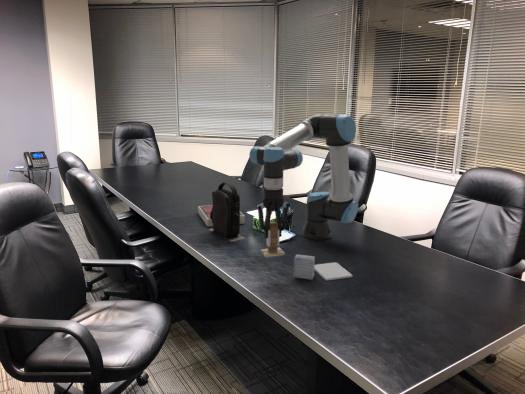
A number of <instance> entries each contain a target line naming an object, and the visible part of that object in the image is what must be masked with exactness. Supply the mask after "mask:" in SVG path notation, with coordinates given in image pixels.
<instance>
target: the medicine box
mask: <svg viewBox="0 0 525 394" xmlns="http://www.w3.org/2000/svg"><path fill="white" fill-rule="evenodd" d="M315 259H316V257H315V256H314V255H313V256H312V255H305V254H295V256H294V257H293V278H295V279H296V278H297V279H305V280H311V281H312V280H314V276H315V270H314V266H315V265H316V264H315V261H316V260H315Z"/></svg>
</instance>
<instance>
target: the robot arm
mask: <svg viewBox="0 0 525 394" xmlns="http://www.w3.org/2000/svg"><path fill="white" fill-rule="evenodd" d="M356 133H357V125H356V121H355V120H354V118H353V117H352V116H351V115H350V114H344V113H343V114H342V113H317V114H314V115H311V116H308V117H306V118H304V119H301V121H300V120H299V122H298V123H297V124H296V126H295V127H293V128H292V129H289V130H288V131H286V132H284V133H283V134H281V135H280V136H278V137H277V138H275V139H273V140H271V141H269V142H268V143H266V144H264V145H262V146H261V145H256V146H253V147H252V148H251V149H250V151H249V154H248V155H249V160H250V162H251V163H252V164H254V165H258V166H263V187H264V188H263V200H262V203H260V204H256V205H255V207H256V209H257V213H258V223H259V228H260V229H261V230H262V231H263V234H264V235H263V236H264V238H265V239H266V241H265V242H266V244H265V245H267V248H268V247H270V230H269V224H270V222H271V218H272V214H273V212H274V214H275V220H276V222H277V223H278V247H280V238H281V237H282V230H283V229H284V228H287V223H288V221H287V220H288V213H289V208H290V205H291V204H290V203H289V202H287V201H285V200H284V188H283V187H284V171H288V170H293V169H295V168H297V167H300V166H301V165H302V163H303V159H304V158H303V153H302V152H301V151H300V150H299V149H297V148H295V147H297V146H298V145H300V144H302V143H303V142H305V141H306V142H308V141H310V140H312V139H322V140H323V139H324V140H325V145H326V146H327V147H328V148H329V160H330V161H329V162H330V176H331V177H330V179H331V180H330V182H331V193H330V192H328V191H315V192H310V193H309V194H307V197H306V213H305V215H306V218H305V223H304V225H303V228H302V231H301V232H302V234H301V235H302V237H304V238H306V239H309V240H314V241H324V240H328V239H330V238H331V237H332V231H331V227H330V223H329V220H331V221H335V222H338V223H339V222H340V223H342V224H351V223H352V222H353V221H354V220H355V218H356V216H357V213H358V211H359V203H358V202H357V200H354V195H353V193H351V190H350V189H351V188H350V167H349V165H350V163H349V162H350V161H349V160H350V159H349V146H350V145H351V144H352V142H353V140H354V139H355V137H356ZM264 208H265V209H266V210H265V216H264ZM281 208H282V215H281ZM264 217H265V218H264Z"/></svg>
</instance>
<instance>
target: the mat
mask: <svg viewBox="0 0 525 394" xmlns="http://www.w3.org/2000/svg"><path fill="white" fill-rule="evenodd" d="M314 272H316V273H317V274H318V275H319V276H320V277H321V278H322V279H324V280H325V282H326V281H334V280H340V279H347V278H348V279H349V278H353V274H351V273H350V272H349V270H346V269H345V268H344V267H343V266H341V265H340V263H338V262H326V263H317V264H315V266H314Z"/></svg>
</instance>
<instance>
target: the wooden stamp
mask: <svg viewBox="0 0 525 394" xmlns="http://www.w3.org/2000/svg"><path fill="white" fill-rule="evenodd" d="M269 230H270V247H268V246H267V248H263V249H260V253H261V254H262V255H263V256H264V257H265V258H272V257H281V256H285V255H286V254H285V253H286V252H285V251H284V250H283V249H282V248H281V247H280V246H278V223H277V222H276V221H275V220H273V221H272V220H270V224H269Z"/></svg>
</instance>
